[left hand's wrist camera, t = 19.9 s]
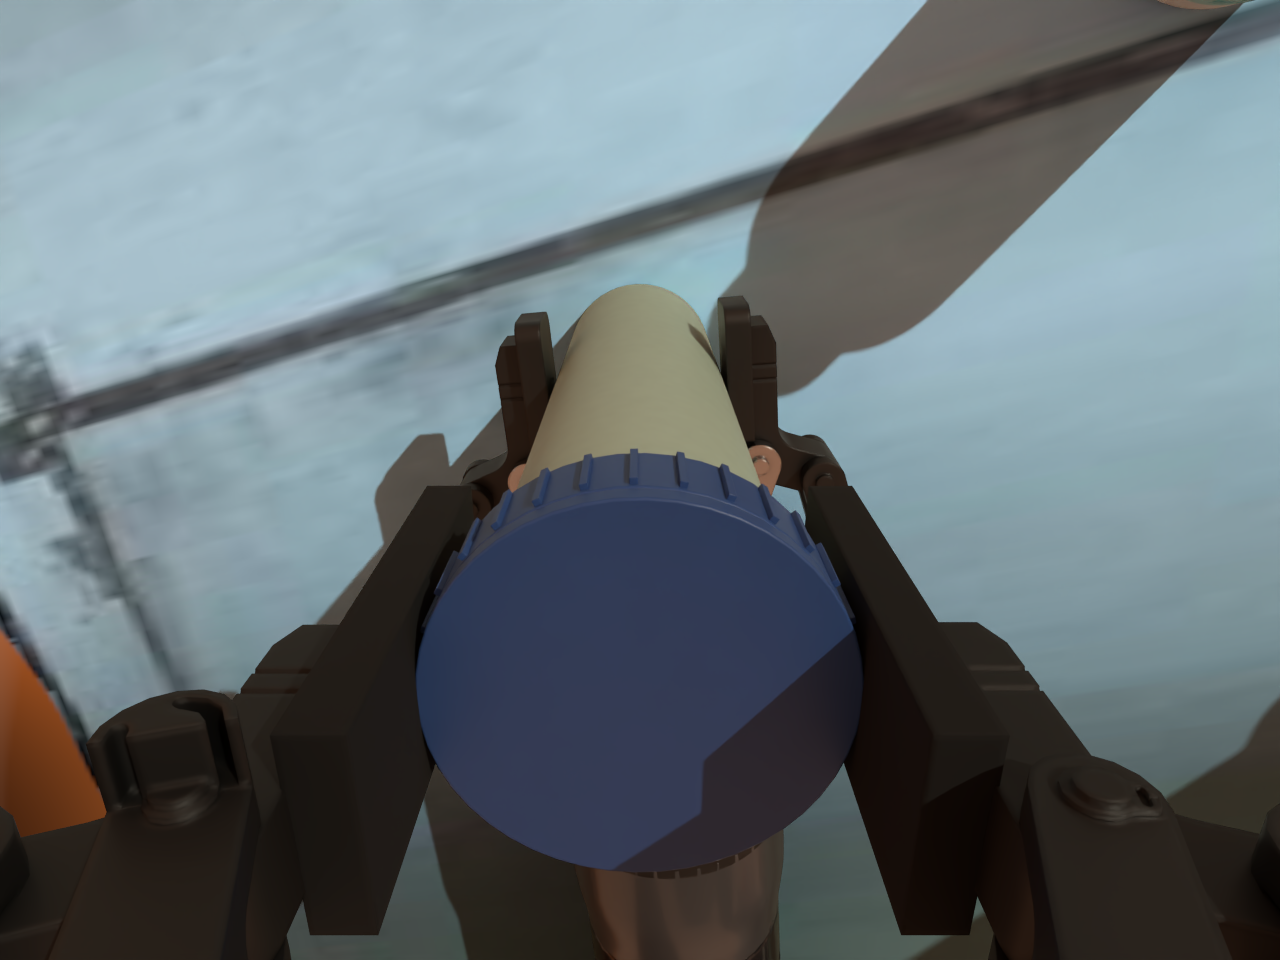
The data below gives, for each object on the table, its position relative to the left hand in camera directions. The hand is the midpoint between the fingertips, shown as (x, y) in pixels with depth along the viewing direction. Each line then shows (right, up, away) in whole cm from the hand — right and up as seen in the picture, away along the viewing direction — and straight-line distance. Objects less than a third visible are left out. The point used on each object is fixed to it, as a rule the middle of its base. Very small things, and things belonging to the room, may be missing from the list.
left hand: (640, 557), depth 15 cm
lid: (0, -1, -3) cm, 4 cm away
